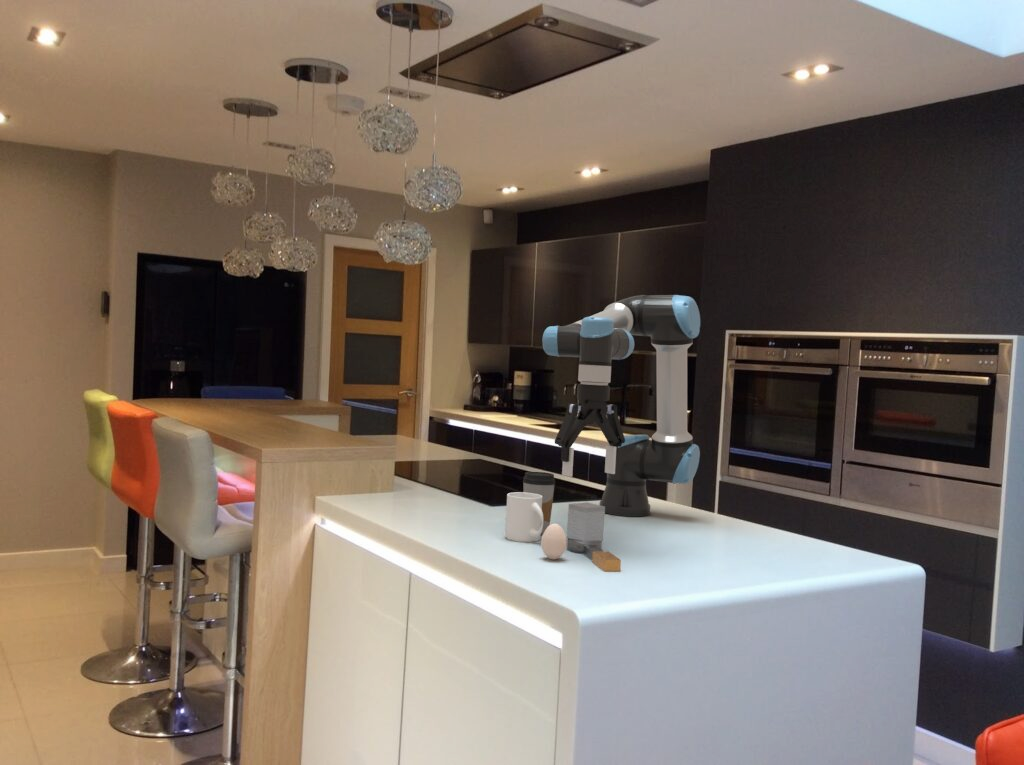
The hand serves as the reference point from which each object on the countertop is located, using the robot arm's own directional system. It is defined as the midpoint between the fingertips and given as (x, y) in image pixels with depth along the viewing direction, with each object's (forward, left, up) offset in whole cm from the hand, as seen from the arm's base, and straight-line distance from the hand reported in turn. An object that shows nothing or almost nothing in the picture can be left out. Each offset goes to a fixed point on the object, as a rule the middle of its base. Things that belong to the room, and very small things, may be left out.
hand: (588, 474), depth 199 cm
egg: (+13, +4, -18) cm, 23 cm away
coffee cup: (-2, -20, -18) cm, 27 cm away
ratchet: (+3, +7, -18) cm, 19 cm away
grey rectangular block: (0, 0, -15) cm, 15 cm away
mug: (+6, -14, -18) cm, 24 cm away
